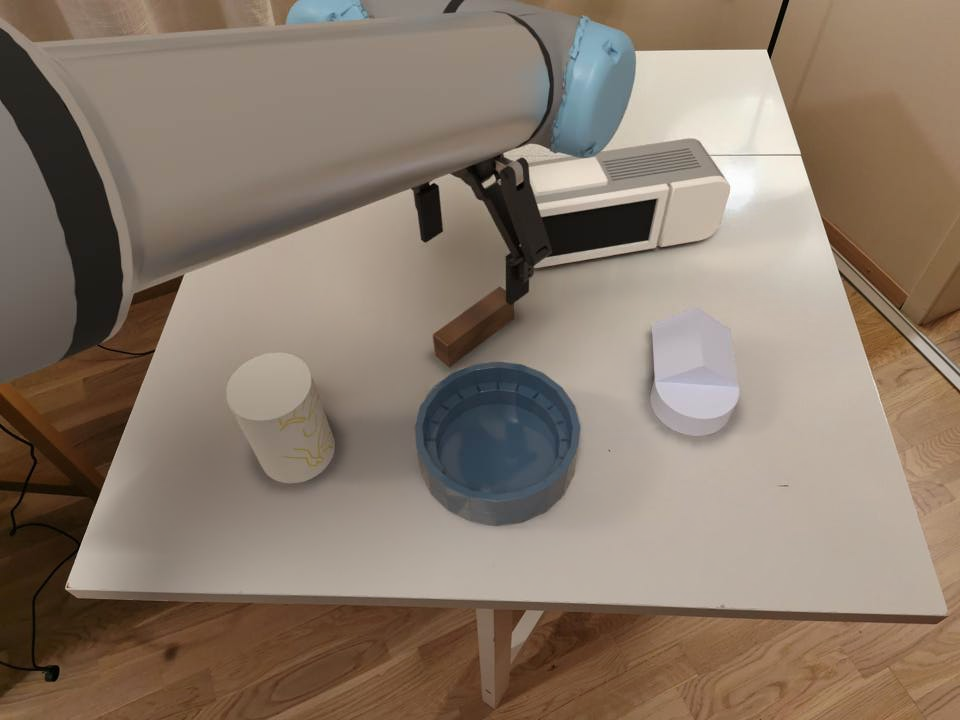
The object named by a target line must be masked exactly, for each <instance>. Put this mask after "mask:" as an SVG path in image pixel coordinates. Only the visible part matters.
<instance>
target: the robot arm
mask: <svg viewBox="0 0 960 720" xmlns="http://www.w3.org/2000/svg"><path fill="white" fill-rule="evenodd" d="M636 71H637V56H636V49H635V46H634V43H633V41H632V39H631V38H630V36H628V34H627V33H625V32H624V31H622V30H620V29H617V28H615V27H611V26H608V25H606V24H603V23H599V22H597V21H594V20H591V18H589V16H586V15H581V16H577V15H572V14H568V13H565V12H560V11H556V10H553V9H549V8H545V7H541V6H537V5H533V4H529V3H526V2H521V1H517V0H297V1H296V2H295V3H294V4H293V5H292V6H291V7H290V9H289V11H288V14H287V17H286V20H285V24H276V25H261V26H249V27H247V26H246V27H233V28H219V29H204V30H203V29H202V30H191V31H177V32H175V31H174V32H163V33H148V34H147V33H146V34H134V35H119V36H104V37H89V38H74V39H63V40H49V41H32V40H31V39H30V38H28V37H27V36H26V35H25V34H23V33H22V32H21V31H19V30H18V29H17V28H16V27H14V26H13V25H12V24H10V23H9V22H8V21H7V20H5V19H4V18H2V17H1V16H0V385H2V384H5V383H8V382H10V381H13V380H16V379H19V378H22V377H24V376H27V375H30V374H33V373H35V372H37V371H40V370H43V369H46V368H47V367H50V366H53V365H56V363H58V362H61V361H63V360H66V359H69V358H70V357H73V356H76V355H77V354H80V353H82V352H84V351H87V350H89V349H91V348H94V347H96V346H99V345H101V344H104V343H105V342H107V341H108V340H110V339H112V338H114V336H115V335H116V334H117V333H118V332H119V331H120V330H121V328H122V327H123V325H124V323H125V321H126V320H127V318H128V314H129V311H130V308H131V304H132V301H133V297H134V294H136V293H139V292H142V291H144V290H147V289H149V288H152V287H155V286H157V285H160V284H164V283H165V282H169V281H171V280H173V279H176V278H178V277H182V276H184V275H186V274H189V273H192V272H194V271H197V270H200V269H202V268H205V267H208V266H210V265H213V264H216V263H218V262H221V261H223V260H226V259H228V258H231V257H233V256H236V255H239V254H242V253H245V252H247V251H250V250H252V249H255V248H258V247H260V246H262V245H265V244H269V243H271V242H274V241H276V240H278V239H282V238H284V237H287V236H289V235H292V234H295V233H297V232H300V231H302V230H305V229H308V228H309V227H314V226H316V225H318V224H321V223H323V222H326V221H329V220H331V219H334V218H336V217H337V218H338V217H340V216H342V215H344V214H348V213H351V212H352V211H355V210H357V209H358V210H359V209H361V208H363V207H365V206H369V205H371V204H373V203H376V202H379V201H382V200H384V199H387V198H389V197H392V196H395V195H397V194H400V193H402V192H405V191H408V190H411V191H412V193H413V199H414V206H415V210H416V213H417V219H418V226H419V234H420V240H421V242H423V243H425V244H427V243H428V242H429V241H431V240H433V239H434V238H436V237H437V236H439V235H440V234H442V233H444V226H443V225H444V224H443V215H442V206H441V195H440V186H439V184H437V183H436V182H433V183H431V182H432V181H434V180H437V179H439V178H442V177H444V176H448V175H452V177H455V178H457V179H460V180H461V181H462V182H463V183H464V184H466V186H469V187H470V189H471V191H472V192H473V194H474V196H475V198H476V199H477V200H478V201H482V202H483V203H484V205H485V207H486V209H487V211H488V213H489V215H490V217H491V218H492V220H493V222H494V225H495V226H496V228H497V231H498V232H499V234H500V236H501V238H502V239H503V241H504V243H505V246H506V247H507V250H508V251H509V253H508V254H506V255H505V290H506V302H507V303H508V304H510V305H512V304H513V303H514V304H515V303H517V302H518V301H519V300H520V299H522V298H523V297H524V296H526V295H528V294H529V292H530V279H531V278H533V277H534V275H535V268H534V266H535V265H536V264H537V263H539V262H540V261H542V260H543V259H544V258H546V257H547V256H548V255H550V254H551V253H552V248H551V245H550V242H549V239H548V236H547V233H546V230H545V227H544V224H543V221H542V218H541V215H540V212H539V209H538V205H537V202H536V199H535V196H534V193H533V190H532V187H531V184H530V177H529V165H528V163H529V162H528V161H527V159H526V158H525V157H522V156H521V157H519V158H518V159H515V160H512V159H510V158H508V157H505V155H504V154H505V153H508V152H510V151H513V150H517V149H519V148H522V147H525V146H528V145H537V146H541V147H543V148H545V149H547V150H549V152H551V153H553V154H558V153H559V154H564V155H567V156H575V157H578V158H590V157H593V156H595V155H596V154H598V153H599V152H602V151H603V150H604V149H605V148H606V147H607V146H608V144H609V143H610V142H611V141H612V139H613V138H614V136H615V135H616V133H617V131H618V130H619V127H620V126H621V123H622V122H623V119H624V117H625V115H626V112H627V109H628V106H629V103H630V100H631V96H632V93H633V88H634V84H635V80H636ZM493 176H494V178H495V181H494V182H493V183H491V184H489V185H488V186H486V187H484V185H483V184H484V183H486V182H488V180H490V179H491V178H492V177H493ZM430 183H431V184H430ZM520 245H521V246H520Z"/></svg>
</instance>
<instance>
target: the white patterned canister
mask: <svg viewBox="0 0 960 720" xmlns="http://www.w3.org/2000/svg"><path fill="white" fill-rule="evenodd" d="M225 389H226V390H225V399H226V401H227V404H228V407H229V408H230V410H231V412H232V414H233V415H234V417H235V419H236V421H237V423H238V425H239V427H240V428H241V429H240V430H242V432H243V435H244V436H245V438H246V439H247V441H248V443H249V445H250V447H251V449H252V452H253V453H254V455H255V457H256V458H257V461H258V462H259V464H260V466H261V468H262V470H263V471H264V473H265V474H266V475H267V476H268V477H269V478H271V479H272V480H274V481H276V482H279V483H284V484H299V483H303V482H306V481H310V480H311V479H313V478H315V477H317V476H319V475H320V474H321V473H322V472H323V471H325V469H326V468H327V467H329V464H330V463H331V462H332V459H333V457H334V454H335V449H336V442H335V441H336V440H335V437H334V435H333V432H332V429H331V427H330V423H329V420H328V418H327V415H326V412H325V410H324V407H323V404H322V401H321V398H320V395H319V393H318V390H317V387H316V383H315V382H314V379H313V375H312V373H311V370H310V368H309V367H308V364H306V362H305V361H303V359H301V358H300V357H298V356H297V355H294V354H292V353H286V352H267V353H263V354H260V355H257V356H255V357H253V358H252V357H251V358H250V359H248V360H247V361H245V362H244V363H242V364H241V365H240V366H239V367H238V368H237V369H236V370H235V371H234V372H233V373H232V375H231V376H230V378H229V380H228V382H227V385H226V388H225Z"/></svg>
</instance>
